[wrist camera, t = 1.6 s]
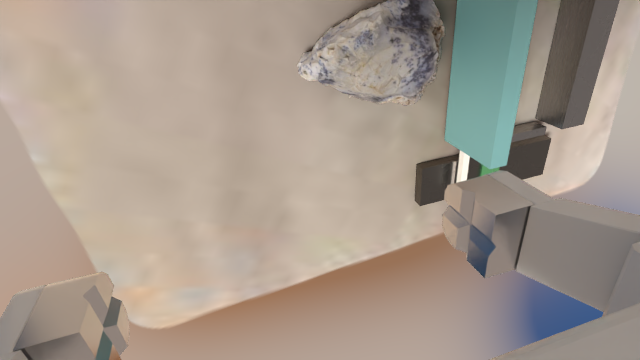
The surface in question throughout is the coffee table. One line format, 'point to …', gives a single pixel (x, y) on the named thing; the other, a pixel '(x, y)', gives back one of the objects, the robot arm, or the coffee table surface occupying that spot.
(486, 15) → the gauge plate
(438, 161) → the gauge frame
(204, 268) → the coffee table surface
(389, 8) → the mineral specimen
